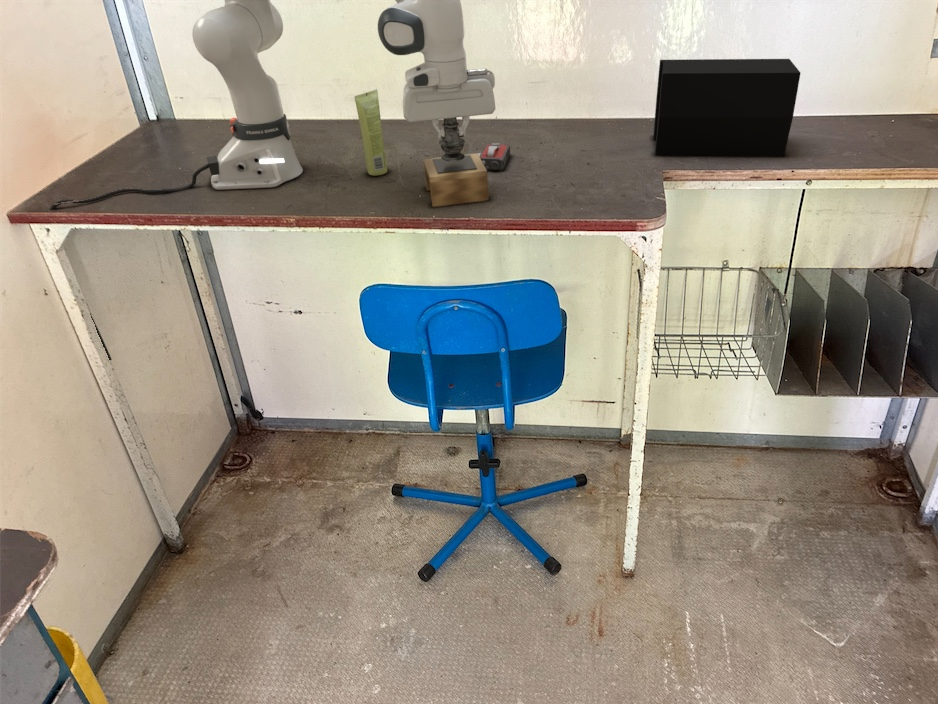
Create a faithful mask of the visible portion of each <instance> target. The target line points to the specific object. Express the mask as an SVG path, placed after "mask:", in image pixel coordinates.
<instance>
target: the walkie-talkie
mask: <svg viewBox="0 0 938 704" xmlns="http://www.w3.org/2000/svg"><path fill="white" fill-rule="evenodd" d="M477 154H478V155H479V157H480V159H481V161H482V163H483V164H484V166H485V168H486V170H487V171H503V170H504V169H505V167H506V164H507V163H508V160H509V158H510V157H511V146H510V145H509V144H508V143H494V142H492V143H490V142H489V143H488V144H486V145H485V146H484V148H483V150H482V151H481V152H477Z"/></svg>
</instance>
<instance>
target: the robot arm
mask: <svg viewBox="0 0 938 704" xmlns="http://www.w3.org/2000/svg"><path fill="white" fill-rule="evenodd" d="M394 1H395V2H396V3H395V4H393V5H390V6H389V7H387V8H386V9H384V10H383V11H382V12H381V13H380V14H379V16H378V20H377V34H378V37H379V40H380V42H381V44H382V45H383V47H384V48H385V49H386V50H387V51H388V52H389V53H391V54H393V55H396V56H409V55H413V54H416V53H420V54H422V55H423V61H424V62H423V63H421V64H418V65H416V66H413V67H412V68H409V69H407V70H406V71H405V73H404V79H405V83H406V84H405V85H404V87H403V90H402V113H403V118H404V119H405V120H406V121H407V122H408V123H417V122H424V121H430V122H431V124H432V126H433V127H434V129H435V131H436V133H437V138H438V140H442V139H445V131H444V128H440V127H439V124H440V120H444V119H446V118H456V117H457V118H461V119H462V121H463V122H462V124H461V126H458V135H459V137H460V138H465V137H467V131H466V130H467V127H469V124H470V122H471V121H470V119H471V118H470V117H477V116H485V115H493V114H494V112H495V111H496V101H495V94H494V93H495V92H494V88H495V85H496V82H495V81H496V79H495V78H496V77H495V74H494V73H493V72H492V70H489V69H488V68H480V69H468V65H467V53H466V51H465V47H464V39H465V24H464V15H463V14H464V13H463V8H462V3H461V0H394ZM191 31H192V34H191V36H192V40H193V41H192V42H193V44H194V46H195V48H196V51H197V52H198V53H199V54H200V55H201V57H202V58H203V59H205V60H206V61H207V62H209V63H210V64H211V65H213V66H214V67H215V68H216V70H217V71H218V72H219V74H220V75H221V77H222V79H223V81H224V83H225V85H226V87H227V89H228V93H229V96H230V98H231V102H232V105H233V109H234V113H235V116H236V117H231V118H230V120H229V127H230V131H231V135H232V136H233V137H232V138H230V140H229V141H228V142H227V143H226V144H225V145H224V146H223V147H222V148H221V150H220V151H218V155H212V156H207V157H206V161H207V164H205V165H203V166H201V167H199V168H198V169H196V170H195V171H194V172H193V174H192V177H191V182H190V183H189V184H188V185H185V186H183V187H179V188H161V189H162V190H154V189H151V190H142V189H143V188H141V189H124V188H121V189H122V190H119V189H116V190H117V191H114V190H113V191H114V192H111V191H109V192H110V193H108V192H107V193H108V194H105V193H104V194H105V195H103V194H101V195H102V196H100V195H98V196H99V197H97V196H95V197H96V198H93V197H91V198H92V199H89V198H87V199H88V200H84V201H79V202H73V203H72V204H89V203H92V202H93V203H94V202H96V201H100V200H103V199H106V198H108V197H111V196H114V195H118V194H123V193H129V192H132V193H133V192H137V193H145V194H163V193H164V194H165V193H167V194H168V193H169V194H170V193H177V192H181V191H185V190H189V189H192V188H193V187H194V186H195V185H196V183H197V177H198V175H199V174H200V173H202V172H204V171H205V170H208V169H209V172H210V175H211V177H210V178H211V179H210V183H211V184H210V185H211V187H212V188H213V189H215V190H219V191H220V190H221V191H222V190H240V189H241V190H243V189H264V188H265V189H266V188H276V187H278V186H280V185H281V184H283V183H286V182H288V181H291V180H294V179H295V178H298V177H299V176H301V174H303V172H304V169H303V167H302V165H301V163H300V161H299V159H298V157H297V155H296V151H295V150H294V146H293V144H292V140H291V138H292V137H291V136H292V135H291V129H290V125H289V121H288V118H287V115H286V114H285V113H284V110H283V104H282V101H281V95H280V90H279V86H278V83H277V81H276V80H275V79H274V77H272V76H271V75H269V74H267V73H266V71H265V69H264V68H263V66H262V63H261V62H260V59H259V55H258V54H259V53H262V52H264V51H267V50H269V49H270V48H272V47H273V46H274V45H275V44H276V43H277V42H278V41H279V40H280V39H281V37H282V35H283V32H284V23H283V18H282V15H281V13H280V12H279V9H277V8H276V6H275V5H274V4H272V1H271V0H224V6H220V7H217V8H214V9H211V10H208V11H207V12H206V13H204V14H203V15H202V16H201V17H199V18H198V19H197V20H196V21H195V23H194V24H193V27H192V30H191ZM73 200H75V199H70V198H69V199H66V198H65V199H60V200H57V201H55V202H54V203H61V202H67V201H73ZM60 205H61V204H58V205H53V204H51V206H50V207H49V211H54V210H55V209H56V208H57V207H59V206H60ZM90 315H91V318H92V320H93V322H94V324H95V327H96V330H97V333H98V335H99V337H100V339H101V342H102V344H103V347H104V348H105V351H106V353H107V355H108V358H109V360H110V361H112V357H111V354H110V352H109V349H108V348H107V347H108V346H107V345H106V343H105V341H104V339H103V337H102V334H101V332H100V330H99V328H98V326H97V324H96V322H95V320H94V318H93V315H92V314H91V313H90ZM103 347H102V348H103ZM109 360H108V361H109Z"/></svg>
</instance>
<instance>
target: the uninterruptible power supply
mask: <svg viewBox="0 0 938 704" xmlns="http://www.w3.org/2000/svg"><path fill="white" fill-rule="evenodd" d="M800 77H801V71H800V70H799V69H798V68H797V67H796V65H795V64H794V62H792V60H791V59H790V58H717V59H715V58H713V59H711V58H710V59H708V58H707V59H703V58H700V59H698V58H697V59H695V58H693V59H659V66H658V77H657V87H656V98H655V111H654V112H655V113H654V125H653V137H652V138H653V141H655V148H654V155H655V156H659V157H661V156H662V157H665V156H669V157H771V158H773V157H774V158H775V157H777V158H778V157H779V158H782V157H785V153H786V149H787V144H788V141H789V137H790V132H791V128H792V123H793V118H794V114H795V108H796V102H797V98H798V97H797V95H798V91H799V85H800V79H801V78H800Z"/></svg>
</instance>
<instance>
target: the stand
mask: <svg viewBox="0 0 938 704" xmlns="http://www.w3.org/2000/svg"><path fill="white" fill-rule="evenodd" d="M464 155H465V158H464V159H462V160H459V161H445V160H443V159H442V156H440V157H433V158H424V159H422V161H423V171H424V179H425V187H426V191H430V199H431V206H432V207H433V208H436V207H445V206H453V205H460V204H469V203H470V204H471V203H477V202H478V203H479V202H485V201H489V183H488V182H489V181H488V180H489V179H488V170H486V168H485V166H484V164H483V163H482V161H481V159H480V157H479V155H478V152H477V153H468V154H464Z"/></svg>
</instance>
